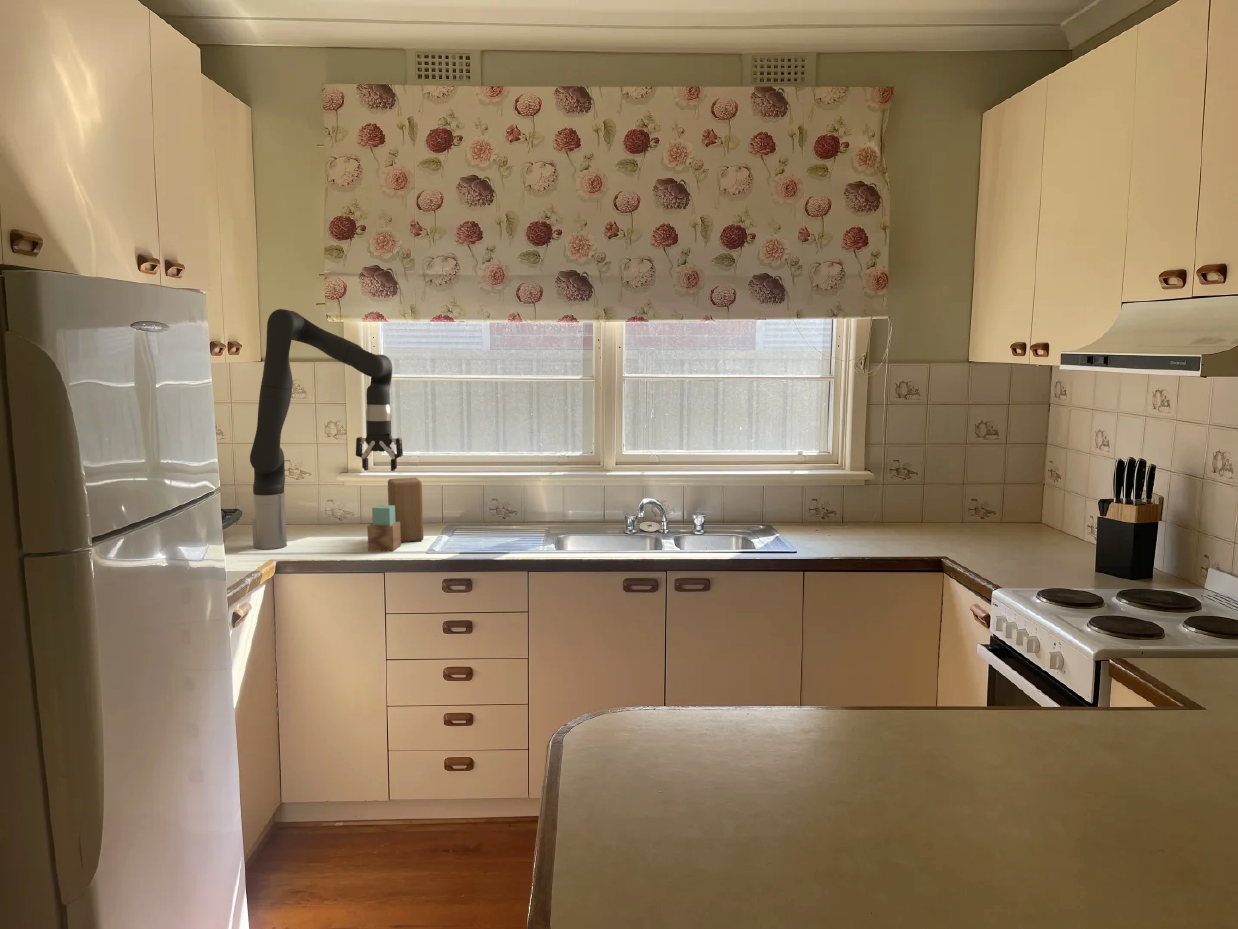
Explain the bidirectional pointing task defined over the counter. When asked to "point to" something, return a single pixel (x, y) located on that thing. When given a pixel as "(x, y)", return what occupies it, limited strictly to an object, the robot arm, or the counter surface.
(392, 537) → the walnut block
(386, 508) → the teal cube
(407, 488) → the block
